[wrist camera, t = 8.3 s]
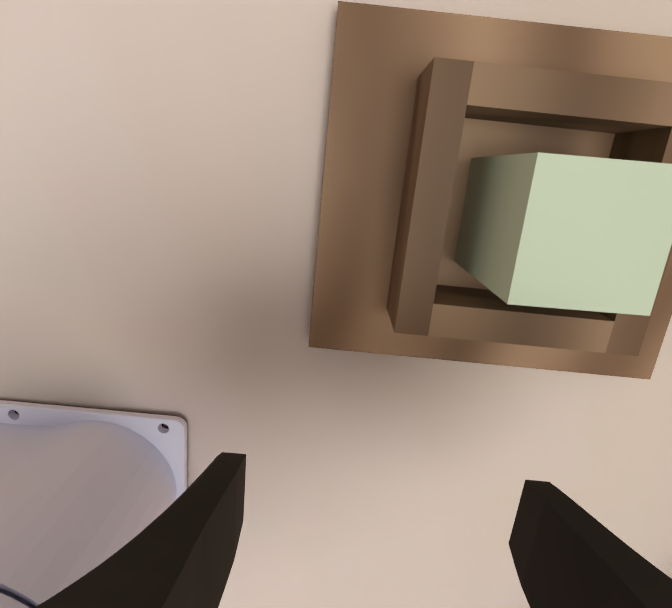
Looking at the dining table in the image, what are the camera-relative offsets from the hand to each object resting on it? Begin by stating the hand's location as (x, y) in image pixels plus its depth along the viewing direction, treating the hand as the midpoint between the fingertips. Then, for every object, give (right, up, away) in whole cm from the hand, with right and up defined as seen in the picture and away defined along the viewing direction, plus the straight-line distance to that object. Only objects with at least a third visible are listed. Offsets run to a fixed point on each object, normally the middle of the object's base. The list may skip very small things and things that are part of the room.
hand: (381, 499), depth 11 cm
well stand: (+6, +9, +7) cm, 13 cm away
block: (+6, +8, +6) cm, 12 cm away
